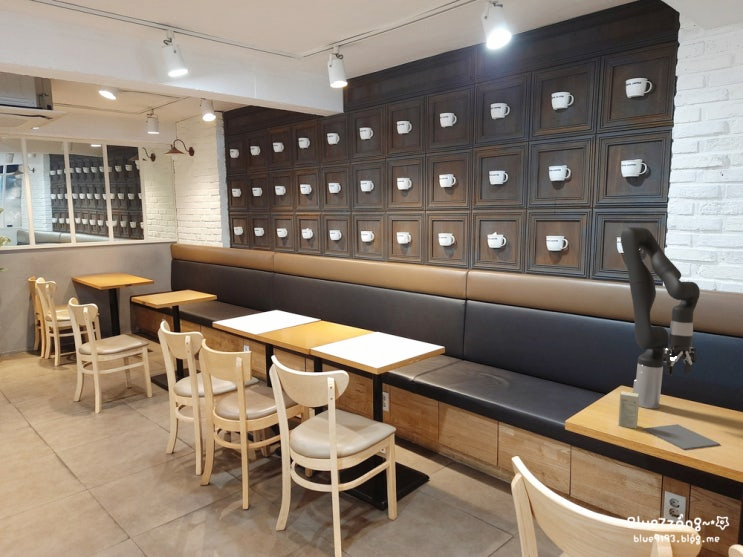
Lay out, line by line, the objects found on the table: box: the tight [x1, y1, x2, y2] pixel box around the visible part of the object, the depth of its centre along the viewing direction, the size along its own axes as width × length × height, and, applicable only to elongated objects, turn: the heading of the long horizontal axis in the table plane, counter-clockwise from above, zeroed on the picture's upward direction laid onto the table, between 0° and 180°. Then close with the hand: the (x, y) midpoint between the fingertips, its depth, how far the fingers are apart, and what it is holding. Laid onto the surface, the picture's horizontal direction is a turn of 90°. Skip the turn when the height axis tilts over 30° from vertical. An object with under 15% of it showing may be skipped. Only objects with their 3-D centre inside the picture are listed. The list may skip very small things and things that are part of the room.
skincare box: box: [617, 390, 639, 429], centre depth 189 cm, size 6×4×12 cm
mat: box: [642, 424, 721, 451], centre depth 181 cm, size 17×16×1 cm
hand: (678, 374), depth 198 cm, fingers open, 8 cm apart
